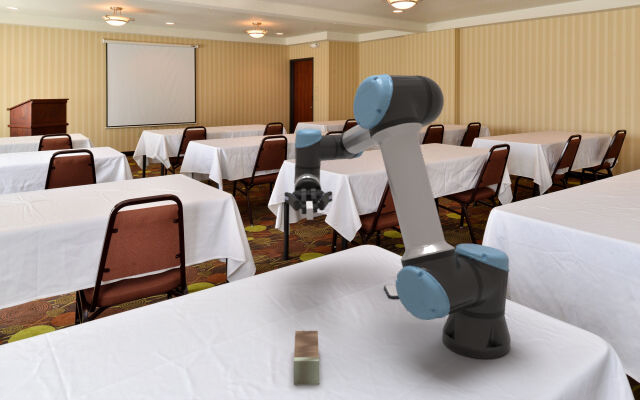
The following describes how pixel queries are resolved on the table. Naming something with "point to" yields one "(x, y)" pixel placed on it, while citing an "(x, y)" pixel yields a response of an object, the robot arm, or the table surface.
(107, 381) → the table surface
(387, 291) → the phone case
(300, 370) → the walnut block
